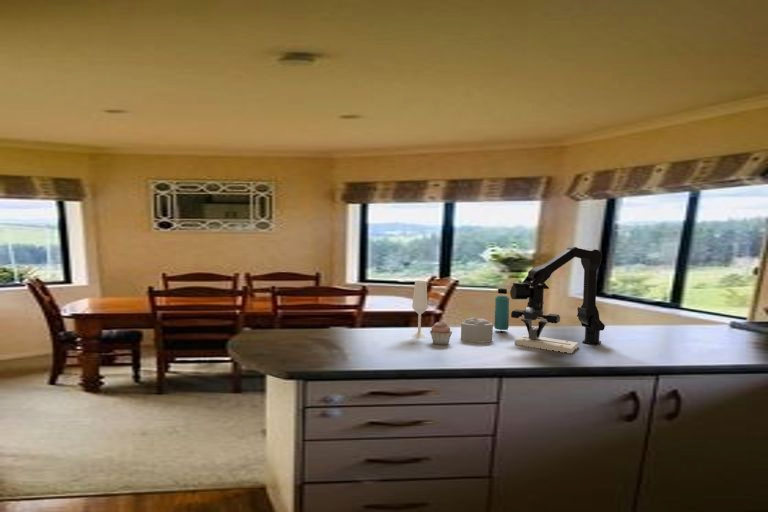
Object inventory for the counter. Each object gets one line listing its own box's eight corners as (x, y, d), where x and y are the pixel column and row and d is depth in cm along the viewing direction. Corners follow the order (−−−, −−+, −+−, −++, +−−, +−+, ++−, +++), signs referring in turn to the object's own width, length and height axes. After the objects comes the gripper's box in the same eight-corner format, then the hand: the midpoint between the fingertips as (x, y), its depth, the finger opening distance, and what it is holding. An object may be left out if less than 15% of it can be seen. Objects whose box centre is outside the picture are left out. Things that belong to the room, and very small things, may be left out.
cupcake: (427, 340, 198) (428, 316, 197) (449, 340, 198) (450, 317, 198) (431, 346, 188) (432, 321, 188) (454, 346, 189) (455, 321, 188)
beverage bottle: (508, 333, 213) (510, 289, 212) (493, 332, 215) (495, 289, 213) (508, 330, 220) (509, 288, 218) (493, 329, 221) (495, 287, 220)
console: (524, 338, 204) (524, 334, 204) (577, 347, 192) (578, 342, 192) (515, 344, 194) (515, 339, 194) (571, 353, 182) (571, 348, 182)
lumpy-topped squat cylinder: (495, 341, 199) (495, 321, 198) (466, 343, 195) (467, 322, 194) (483, 335, 209) (484, 316, 208) (456, 337, 205) (456, 317, 204)
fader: (532, 336, 199) (532, 326, 198) (539, 337, 197) (540, 327, 197) (528, 338, 194) (529, 328, 194) (536, 339, 193) (536, 329, 192)
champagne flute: (427, 338, 201) (429, 282, 200) (411, 337, 201) (413, 282, 200) (426, 334, 208) (427, 280, 206) (411, 334, 208) (412, 280, 206)
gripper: (507, 299, 193) (505, 336, 194) (554, 304, 183) (552, 344, 184) (516, 296, 202) (514, 332, 203) (561, 301, 192) (559, 338, 193)
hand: (534, 336), depth 196 cm, fingers closed on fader, 3 cm apart
